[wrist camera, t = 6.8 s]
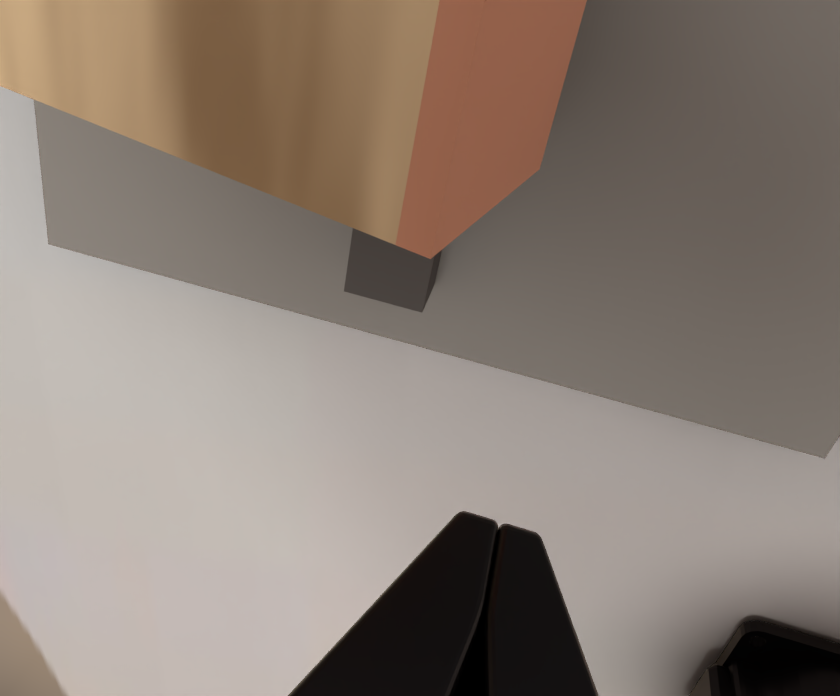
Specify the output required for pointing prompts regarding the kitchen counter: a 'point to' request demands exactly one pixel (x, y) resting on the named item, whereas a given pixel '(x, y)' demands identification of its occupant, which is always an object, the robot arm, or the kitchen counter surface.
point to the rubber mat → (564, 226)
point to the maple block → (316, 95)
